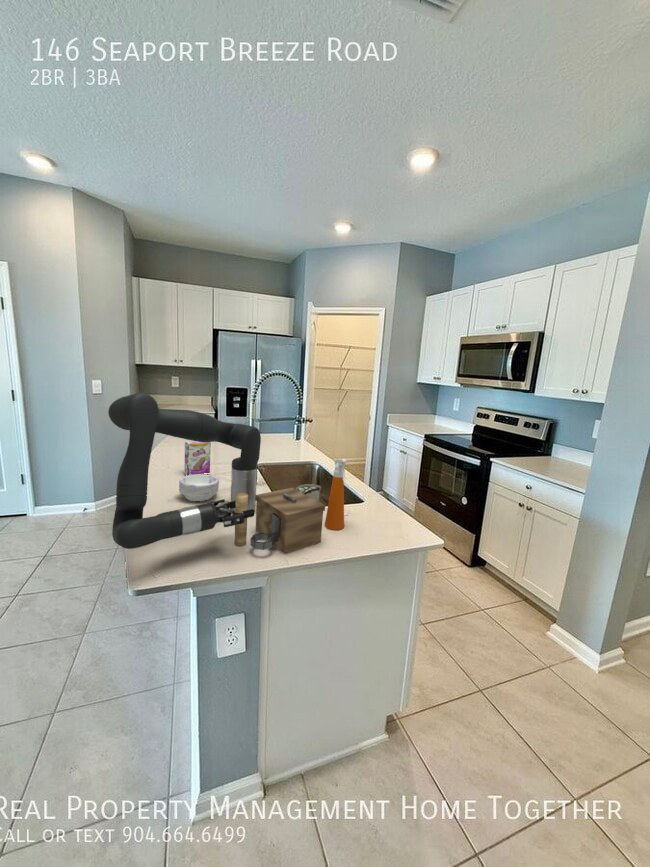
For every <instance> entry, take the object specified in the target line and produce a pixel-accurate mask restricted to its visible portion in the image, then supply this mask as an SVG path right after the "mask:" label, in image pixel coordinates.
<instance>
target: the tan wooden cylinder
mask: <svg viewBox="0 0 650 867" xmlns="http://www.w3.org/2000/svg"><path fill="white" fill-rule="evenodd" d="M245 510H248V494H246V493H238V494H236V511H245ZM235 515H239V514H235ZM247 525H248V518H245V519H244V523H243V524H238V525H234V545H235V546H236V547H243V546H246V545H247V534H248V532H247V530H248V526H247Z"/></svg>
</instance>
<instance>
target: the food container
mask: <svg viewBox="0 0 650 867" xmlns="http://www.w3.org/2000/svg"><path fill="white" fill-rule="evenodd" d="M295 490H297V491H299V492H301V493H303V494H305V495H307V496H309V497H310V498H312V499H314V500H316V501H318V502H320V501H319V500H320V494H321V491H322V486H321V485H318V484H311V483H308V484H306V483H305V484H301V485H297V487H296V489H295Z"/></svg>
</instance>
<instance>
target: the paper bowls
mask: <svg viewBox="0 0 650 867" xmlns="http://www.w3.org/2000/svg"><path fill="white" fill-rule="evenodd" d="M178 482H179V483H178V484H179V486H178V487H179V488H178V490H179V493H180V495H182V496H184V497H185V499H186V500H188V501H190V502H195V501H200V502H205V500H206V501H208V500H210V499H212V498H213V496H214V495H216V494H217V493H219V488H220V479H219V478H218V477H217V476H215V475H212V474H208V475H206V474H195V475H188V476H186V475H185V476H183V477H180V479H179V481H178Z"/></svg>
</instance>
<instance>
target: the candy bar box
mask: <svg viewBox="0 0 650 867" xmlns="http://www.w3.org/2000/svg"><path fill="white" fill-rule="evenodd" d="M211 443H212V442H197V441H185V442H184V472H183V473H185V474H186V475H187V476H188V475H195V474H204V473H211ZM185 474H184V475H185ZM186 475H185V476H186Z"/></svg>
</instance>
